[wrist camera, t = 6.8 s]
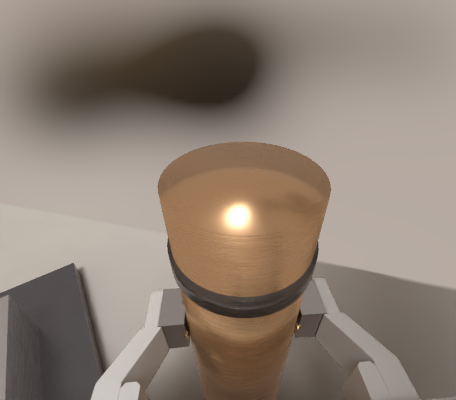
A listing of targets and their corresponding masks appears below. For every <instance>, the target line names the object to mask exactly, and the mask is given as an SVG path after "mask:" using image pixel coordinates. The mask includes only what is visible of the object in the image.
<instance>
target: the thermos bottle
mask: <svg viewBox="0 0 456 400" xmlns="http://www.w3.org/2000/svg"><path fill="white" fill-rule="evenodd" d="M330 191H331V188H330V182H329V179H328V177H327V175H326V173H325V172H324V171H323V169H322V168H321V167H320V166H319V165H318V164H316V163H315V162H314V161H312V160H311V159H309V158H308V157H306V156H304V155H302V154H300V153H298V152H296V151H293V150H290V149H287V148H284V147H280V146H276V145H271V144H265V143H256V142H230V143H221V144H215V145H210V146H206V147H202V148H199V149H196V150H193V151H191V152H188V153H186V154H184V155H182V156H181V157H179V158H177V159H176V160H175V161H173V162H172V163H171V164H169V165H168V166H167V168H166V169H165V170H164V171H163V173H162V174H161V176H160V179H159V183H158V194H159V197H160V203H161V207H162V212H163V216H164V220H165V225H166V229H167V234H168V244H167V247H168V254H169V259H170V263H171V267H172V271H173V274H174V278H175V280H176V282H177V284H178V286H179V287H180V292H181V296H182V300H183V305H184V309H185V314H186V318H187V323H188V327H189V331H190V336H191V340H192V345H193V349H194V354H195V358H196V363H197V367H198V371H199V376H200V380H201V385H202V389H203V394H204V398H205V400H275V399H276V395H277V392H278V388H279V384H280V380H281V377H282V373H283V369H284V365H285V362H286V358H287V354H288V351H289V347H290V343H291V339H292V336H293V332H294V328H295V324H296V321H297V317H298V313H299V309H300V306H301V302H302V298H303V294H304V291H305V290H306V288H307V287H308V285H309V283H310V280H311V278H312V275H313V271H314V268H315V264H316V260H317V256H318V238H319V234H320V231H321V227H322V223H323V220H324V216H325V212H326V208H327V205H328V201H329V197H330Z"/></svg>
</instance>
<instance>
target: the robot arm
mask: <svg viewBox="0 0 456 400" xmlns="http://www.w3.org/2000/svg"><path fill="white" fill-rule="evenodd" d="M294 333H295V337H296V338H297V337H315V336H316V337H315V338H316V339H317V340H318V341H319V343H320V344H321V345H322V346H323V347H324V348H325V349H326V351H327V352H328V353H329V354H330V355H331V356H332V357H333V359H334V360H335V361H336V362H337V363H338V364H339V365H340V367H341V368H342V369H343V370H344V371H345V372H346V373H347V375H348V376H349V378H348V380H347V381H346V383H345V384H344V386H343V388H342V393H343V396H344V399H345V400H421V399H420V397H419V395H418V393H417V392H416V390H415V388H414V386H413V384H412V383H411V381H410V379H409V377H408V375H407V374H406V372H405V370H404V368H403V366H402V365H401V363H400V361H399V359H398V358H397V357H396V356H395V355H394V354H393V353H391V352H390V351H389V350H388V349H387V348H385V347H384V346H383V345H382V344H381V343H380V342H378V341H377V340H376V339H375V338H374V337H372V336H371V335H370V334H369V333H368V332H366V331H365V330H364V329H363V328H362V327H361V326H359V325H358V324H357V323H356V322H355V321H353V320H352V319H351V318H350V317H349V316H347V315H346V314H345V313H344V312H342V313H340V311H339V308H338V306H337V304H336V302H335V300H334V297H333V295H332V293H331V291H330V289H329V286H328V284H327V282H326V280H325V279H324V278H322V277H321V278H311V280H310V283H309V285H308V287H307V288H306V290H305V291H304V294H303V298H302V302H301V306H300V309H299V313H298V317H297V321H296V324H295V328H294ZM188 346H190V331H189V327H188V323H187V318H186V314H185V309H184V305H183V300H182V296H181V292H180V288H177V289H159V290H152V292H151V295H150V300H149V305H148V310H147V315H146V320H145V325H144V328H141V329H140V330H139V331H138V332H137V333H136V334H135V336H134V337H133V338H132V339H131V341H130V342H129V343H128V344H127V346H126V347H125V348H124V349H123V351H122V352H121V353H120V354H119V355H118V357H117V358H116V359H115V360H114V362H113V363H112V364H111V365H110V367H109V368H108V369H107V370H106V371H105V373H104V374H103V375H102V376H101V378H100V379H99V380H98V381H97V383H96V384H95V387H94V390H93V394H92V397H91V400H149V399H148V397H147V396H146V394H145V390H146V389H147V387H148V385H149V384H150V382H151V380H152V379H153V377H154V375H155V374H156V372H157V370H158V369H159V367H160V365H161V363H162V362H163V360H164V358H165V357H166V355H167V353H168V352H169V349H170V348H179V347H188ZM426 400H456V397H447V398H436V399H426Z"/></svg>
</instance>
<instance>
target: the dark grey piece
mask: <svg viewBox="0 0 456 400" xmlns="http://www.w3.org/2000/svg"><path fill="white" fill-rule="evenodd" d="M103 374H104V372H103V368H102V364H101V360H100V356H99V351H98V347H97V343H96V339H95V335H94V331H93V327H92V323H91V318H90V314H89V310H88V306H87V302H86V298H85V294H84V289H83V285H82V281H81V277H80V273H79V271H78V270H77V268H76V266H75V265H74V263H72V264H70V265H67V266H65V267H62V268H60V269H58V270H55V271H53V272H50V273H48V274H46V275H43V276H41V277H38V278H36V279H34V280H31V281H29V282H26V283H24V284H22V285H19V286H17V287H14V288H12V289H9V290H7V291H5V292H2V293H0V400H91V397H92V394H93V390H94V387H95V384H96V383H97V381H98V380H99V379H100V378H101V376H102V375H103Z"/></svg>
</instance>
